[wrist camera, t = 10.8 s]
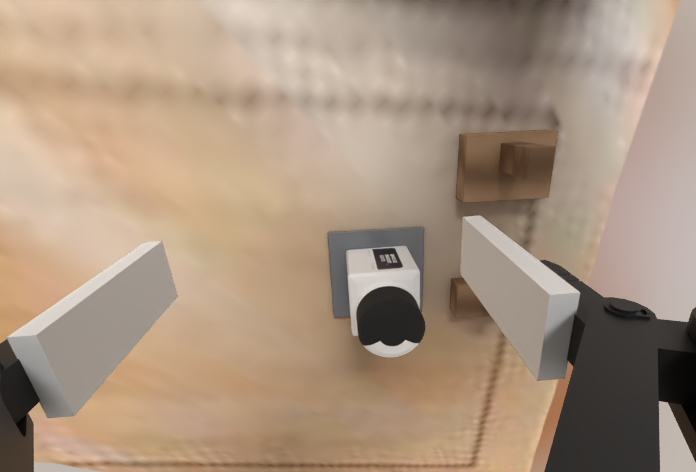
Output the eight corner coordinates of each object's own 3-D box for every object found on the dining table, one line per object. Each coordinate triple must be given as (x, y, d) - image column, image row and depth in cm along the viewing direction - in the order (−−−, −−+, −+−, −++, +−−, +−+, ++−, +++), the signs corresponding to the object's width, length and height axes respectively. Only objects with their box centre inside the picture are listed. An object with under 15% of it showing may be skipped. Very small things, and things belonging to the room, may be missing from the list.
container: (345, 249, 43) (349, 301, 31) (406, 244, 44) (434, 295, 31) (349, 302, 46) (354, 370, 34) (407, 298, 46) (432, 364, 34)
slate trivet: (328, 232, 43) (327, 233, 43) (423, 226, 43) (424, 228, 43) (333, 314, 47) (333, 317, 47) (421, 309, 47) (422, 311, 47)
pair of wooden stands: (459, 134, 40) (490, 138, 32) (545, 129, 40) (597, 133, 32) (449, 307, 47) (473, 346, 39) (521, 303, 48) (559, 341, 40)
